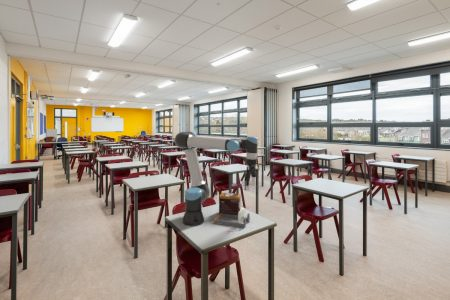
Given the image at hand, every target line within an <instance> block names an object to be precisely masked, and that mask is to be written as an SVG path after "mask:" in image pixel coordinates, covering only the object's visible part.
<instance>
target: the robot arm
mask: <svg viewBox="0 0 450 300" xmlns="http://www.w3.org/2000/svg"><path fill="white" fill-rule="evenodd" d="M258 141H259V138H258V137H257V136H247V137H246V138H230V139H229V138H228V139H227V138H226V139H225V138H216V137H204V136H197V134H196V133H195V132H192V131H180V132H179V133H177V134H176V135H175V137H174V143H175V145H176V147H178V148H179V149H182V152H183V153H184V154H185V157H186V163H187V167H188V171H189V175H190V181H191V185H190V187H189V188H188V189H186V190H185V192H184V210H185V211H184V213H183V217H182V223H183V224H184V226H185V225H186V226H194V227H195V226H198V225H199V226H200V225H202V224H203V223H205V218H204V214H203V209H202V206H203V205H202V204H203V202H205V201H206V200H207V199H208V198H210V194H211V190H210V188H209V186H208V185H207V182H206V181H205V180H204V178H203V175H202V168H201V165H200V161H199V157H198V152H197V149H209V150H218V151H219V150H220V151H228V152H231V153H235V152H237V151H239V150H241V151H242V150H245V151H246V153H245V154H246V159H245V164H246V165H248V166H246V171H245V177H244V181H245V191H250V188H251V187H255V186H256V178H258V177H257V169H256V165H257V164H258V159H257V158H258V155H259V154H258V144H259V142H258ZM250 180H251V181H250Z"/></svg>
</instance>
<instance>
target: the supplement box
mask: <svg viewBox="0 0 450 300" xmlns="http://www.w3.org/2000/svg"><path fill="white" fill-rule="evenodd" d="M241 197H242V196H241V193H236V192H235V193H233V192H220V194H219V196H218V215H219V214H220V213H222V214H229V215H235V216H238V212H239V211H240V210H241Z"/></svg>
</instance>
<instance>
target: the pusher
mask: <svg viewBox="0 0 450 300" xmlns="http://www.w3.org/2000/svg"><path fill="white" fill-rule="evenodd" d="M244 218H246V219H247V216H245V207H242V208H240V211H239V212H238V223H242V222H243V221H244Z"/></svg>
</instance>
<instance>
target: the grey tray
mask: <svg viewBox="0 0 450 300" xmlns="http://www.w3.org/2000/svg"><path fill="white" fill-rule="evenodd" d="M246 217H247V219H246V218H244V221H243V222H242V223H238V216H235V215H229V214H222V213H220V214H219V213H218V215H217V216H215V217H214V218H213V220H212V221H213V224H220V225H224V226H231V227H236V228H237V227H238V228H242V229H243V228H244V229H245V228H246V227H247V224H248V223H250V221H251V216H250V213H247V216H246Z"/></svg>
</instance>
